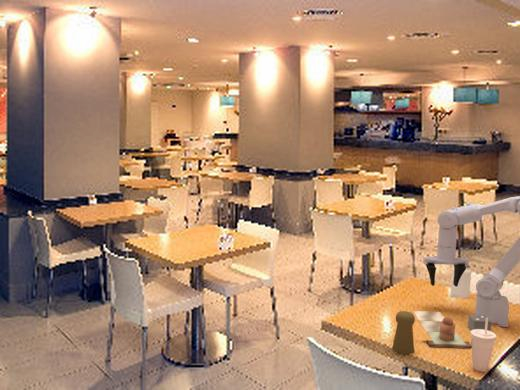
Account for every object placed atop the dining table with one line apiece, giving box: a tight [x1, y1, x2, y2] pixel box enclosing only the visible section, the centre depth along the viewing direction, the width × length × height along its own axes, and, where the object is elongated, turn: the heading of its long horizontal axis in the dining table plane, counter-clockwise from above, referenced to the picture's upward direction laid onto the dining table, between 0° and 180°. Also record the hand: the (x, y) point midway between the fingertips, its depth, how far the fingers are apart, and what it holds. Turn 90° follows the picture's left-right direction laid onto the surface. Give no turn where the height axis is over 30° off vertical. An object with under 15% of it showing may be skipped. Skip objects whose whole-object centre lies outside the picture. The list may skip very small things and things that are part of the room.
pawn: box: [439, 316, 456, 341], centre depth 162 cm, size 4×4×6 cm
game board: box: [413, 310, 472, 350], centre depth 171 cm, size 12×27×1 cm, turn 178°
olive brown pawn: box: [392, 310, 416, 355], centre depth 155 cm, size 6×6×11 cm
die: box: [467, 314, 492, 332], centre depth 168 cm, size 5×5×5 cm
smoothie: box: [469, 318, 497, 373], centre depth 144 cm, size 6×6×14 cm
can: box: [450, 264, 472, 299], centre depth 201 cm, size 6×6×12 cm
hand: (443, 285), depth 185 cm, fingers open, 7 cm apart
